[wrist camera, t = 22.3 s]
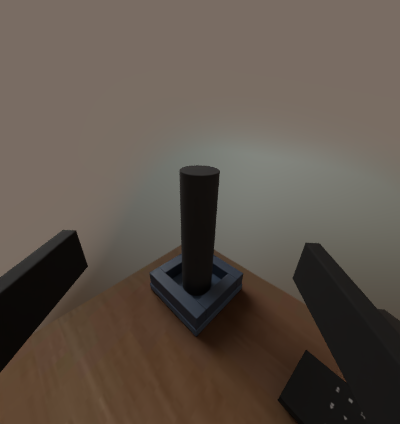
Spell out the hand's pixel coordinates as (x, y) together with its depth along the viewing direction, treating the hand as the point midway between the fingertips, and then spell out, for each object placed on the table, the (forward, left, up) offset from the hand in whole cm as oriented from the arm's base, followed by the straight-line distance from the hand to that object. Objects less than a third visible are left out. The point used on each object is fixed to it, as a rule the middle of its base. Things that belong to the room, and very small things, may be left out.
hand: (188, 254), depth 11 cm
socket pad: (-4, +9, -14) cm, 17 cm away
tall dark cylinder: (-4, +9, -13) cm, 16 cm away
